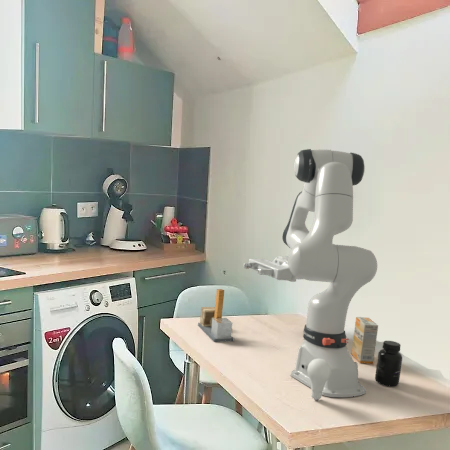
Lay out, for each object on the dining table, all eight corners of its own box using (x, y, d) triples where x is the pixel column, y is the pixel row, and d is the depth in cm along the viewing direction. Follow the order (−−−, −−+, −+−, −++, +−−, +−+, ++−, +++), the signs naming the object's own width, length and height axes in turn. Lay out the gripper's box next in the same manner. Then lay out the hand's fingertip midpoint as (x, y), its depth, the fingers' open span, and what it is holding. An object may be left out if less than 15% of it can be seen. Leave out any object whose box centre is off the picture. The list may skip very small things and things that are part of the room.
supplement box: (350, 354, 176) (355, 316, 174) (364, 355, 176) (369, 317, 175) (359, 363, 168) (364, 323, 166) (373, 364, 168) (378, 324, 167)
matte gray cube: (231, 338, 177) (232, 322, 177) (216, 338, 176) (218, 323, 175) (225, 332, 183) (226, 317, 182) (211, 333, 181) (212, 318, 180)
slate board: (233, 341, 178) (233, 338, 178) (213, 341, 175) (214, 339, 175) (215, 325, 194) (216, 322, 194) (197, 325, 192) (198, 322, 192)
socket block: (218, 326, 190) (220, 310, 189) (203, 326, 188) (204, 310, 187) (215, 322, 194) (216, 306, 193) (199, 323, 191) (201, 307, 191)
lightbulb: (325, 406, 134) (330, 365, 132) (302, 401, 136) (306, 360, 134) (329, 397, 139) (333, 357, 138) (306, 392, 141) (310, 353, 140)
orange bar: (228, 335, 178) (232, 294, 176) (218, 335, 176) (222, 294, 175) (218, 326, 187) (222, 287, 185) (209, 326, 186) (212, 287, 184)
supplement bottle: (400, 389, 150) (405, 348, 149) (375, 385, 151) (380, 344, 150) (397, 380, 157) (402, 341, 155) (373, 376, 158) (378, 337, 157)
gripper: (267, 254, 203) (237, 254, 196) (300, 265, 185) (268, 266, 178) (265, 270, 204) (235, 271, 196) (298, 282, 186) (266, 284, 179)
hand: (251, 268), depth 187 cm, fingers open, 8 cm apart
